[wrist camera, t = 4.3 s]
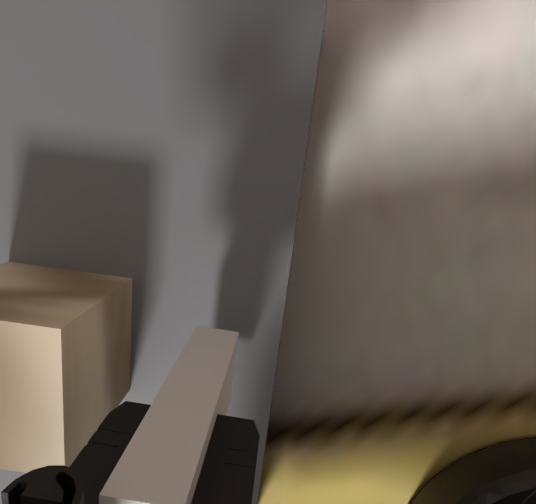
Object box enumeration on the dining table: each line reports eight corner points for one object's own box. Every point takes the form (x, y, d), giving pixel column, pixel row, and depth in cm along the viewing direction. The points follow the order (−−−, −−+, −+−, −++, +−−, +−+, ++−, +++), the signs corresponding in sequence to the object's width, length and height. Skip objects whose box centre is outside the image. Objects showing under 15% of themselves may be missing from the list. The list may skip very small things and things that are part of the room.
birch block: (132, 278, 14) (60, 329, 10) (129, 390, 15) (65, 479, 11) (8, 261, 14) (-116, 304, 10) (15, 373, 15) (-92, 454, 11)
